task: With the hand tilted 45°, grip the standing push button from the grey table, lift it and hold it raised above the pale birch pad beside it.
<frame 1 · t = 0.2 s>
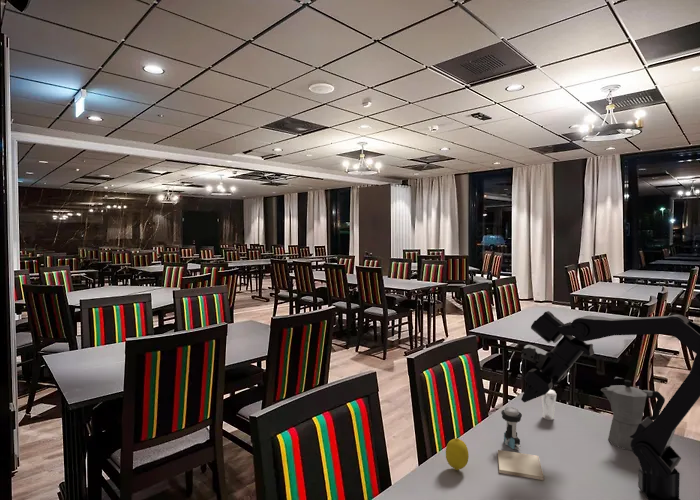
hand: (528, 396, 113), 14 cm above the table, tool tilted 35°, fingers open, 9 cm apart
push button: (512, 447, 113), on the table
coffeepot: (631, 444, 115), on the table
lemon: (456, 470, 102), on the table
birch pad: (519, 465, 104), on the table
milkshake: (547, 418, 131), on the table
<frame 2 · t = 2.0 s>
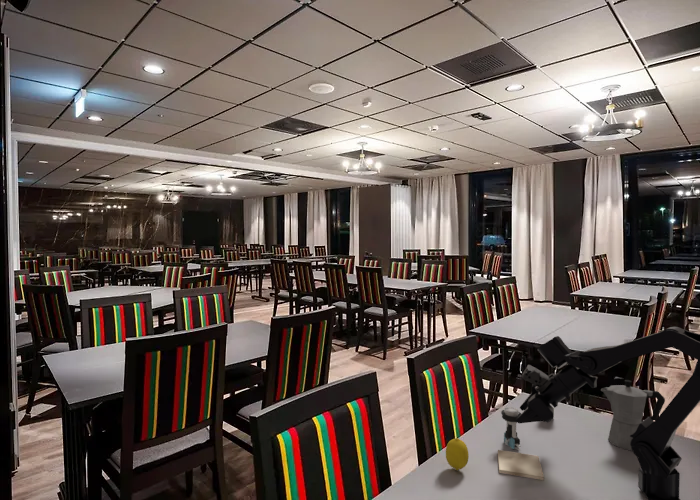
hand: (519, 415, 112), 9 cm above the table, tool tilted 45°, fingers open, 9 cm apart
nothing on the table moved.
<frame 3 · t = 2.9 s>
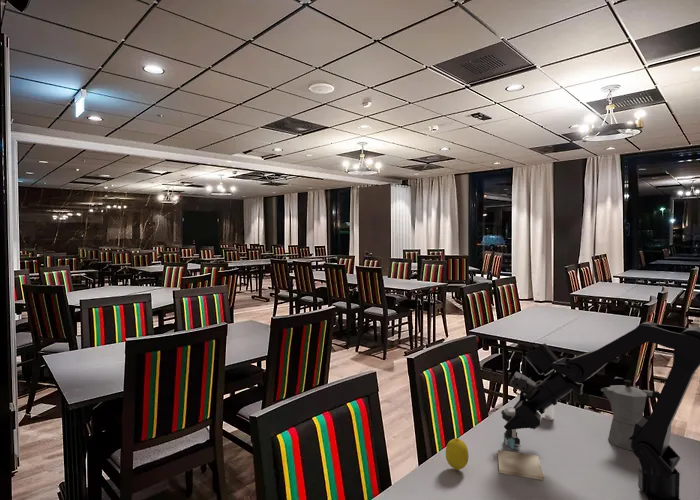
hand: (507, 421, 114), 7 cm above the table, tool tilted 45°, fingers open, 9 cm apart
nothing on the table moved.
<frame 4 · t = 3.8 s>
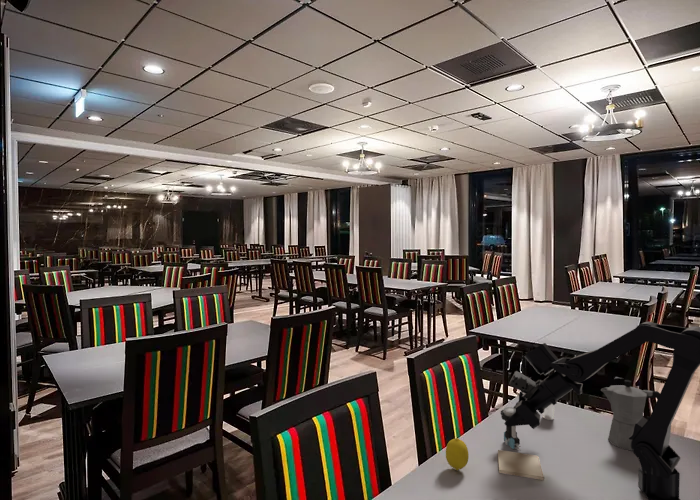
hand: (506, 420, 114), 7 cm above the table, tool tilted 45°, fingers closed on push button, 5 cm apart
push button: (512, 446, 113), on the table, touching gripper
everything else where it was.
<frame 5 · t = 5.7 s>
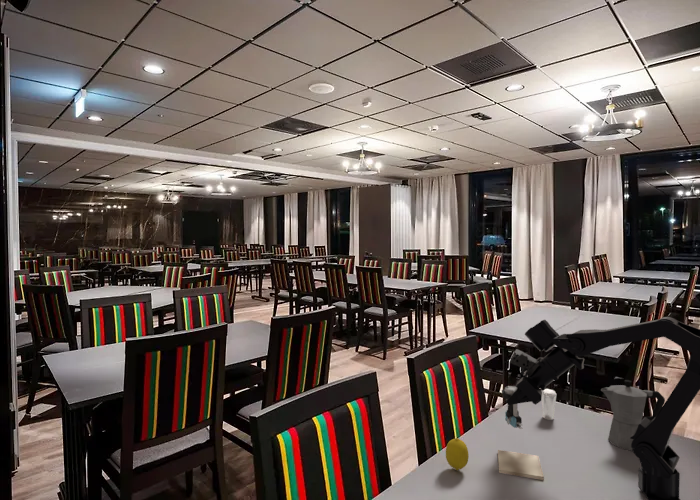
hand: (508, 399, 113), 13 cm above the table, tool tilted 45°, fingers closed on push button, 5 cm apart
push button: (514, 425, 112), point 6 cm above the table, touching gripper
everything else where it was.
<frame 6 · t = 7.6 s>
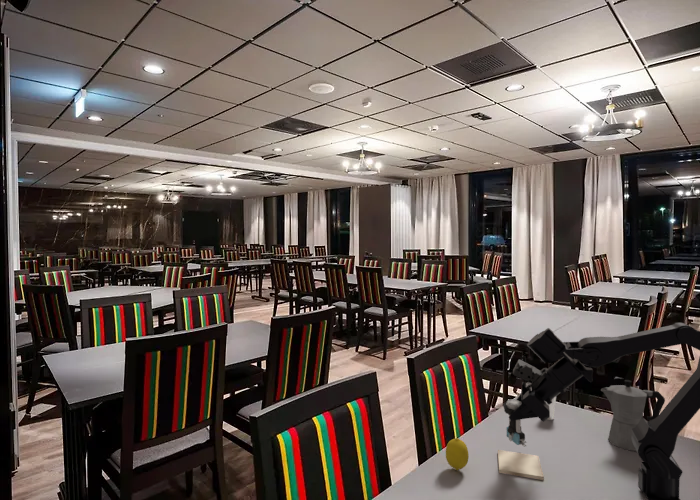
hand: (510, 414, 104), 13 cm above the table, tool tilted 45°, fingers closed on push button, 5 cm apart
push button: (516, 442, 104), point 6 cm above the table, touching gripper
everything else where it was.
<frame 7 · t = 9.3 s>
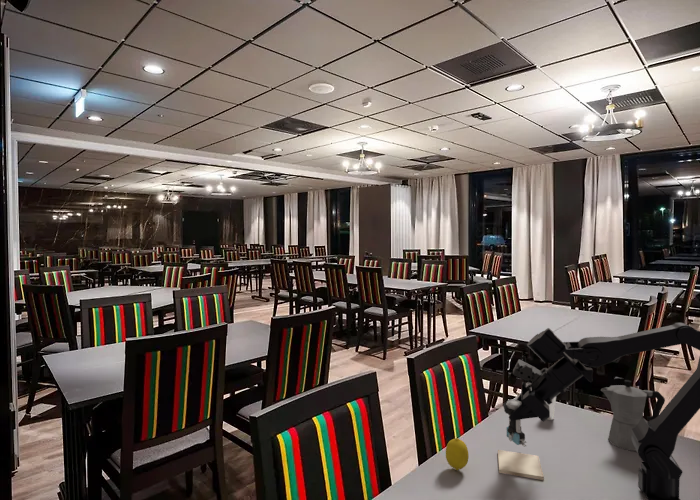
hand: (510, 414, 104), 13 cm above the table, tool tilted 45°, fingers closed on push button, 5 cm apart
push button: (516, 442, 104), point 6 cm above the table, touching gripper
everything else where it was.
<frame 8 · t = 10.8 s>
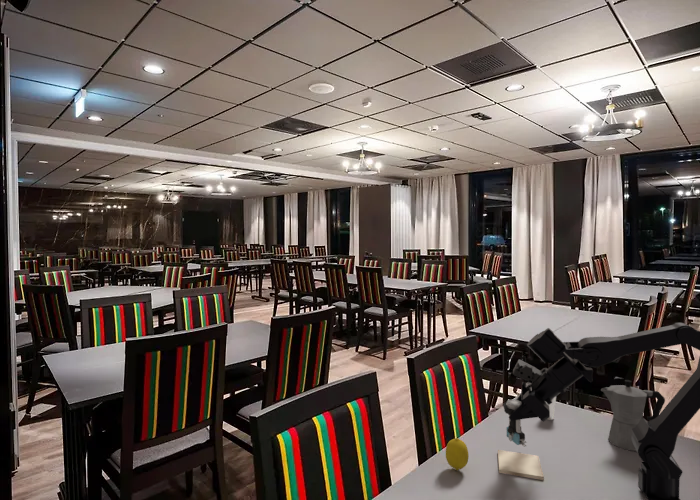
hand: (510, 414, 104), 13 cm above the table, tool tilted 45°, fingers closed on push button, 5 cm apart
push button: (516, 442, 104), point 6 cm above the table, touching gripper
everything else where it was.
at the end: the gripper is holding push button; push button point 5.9 cm above the table; push button inside the target area on the birch pad (0.2 cm from its centre), point 5.9 cm above the birch pad's base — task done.
